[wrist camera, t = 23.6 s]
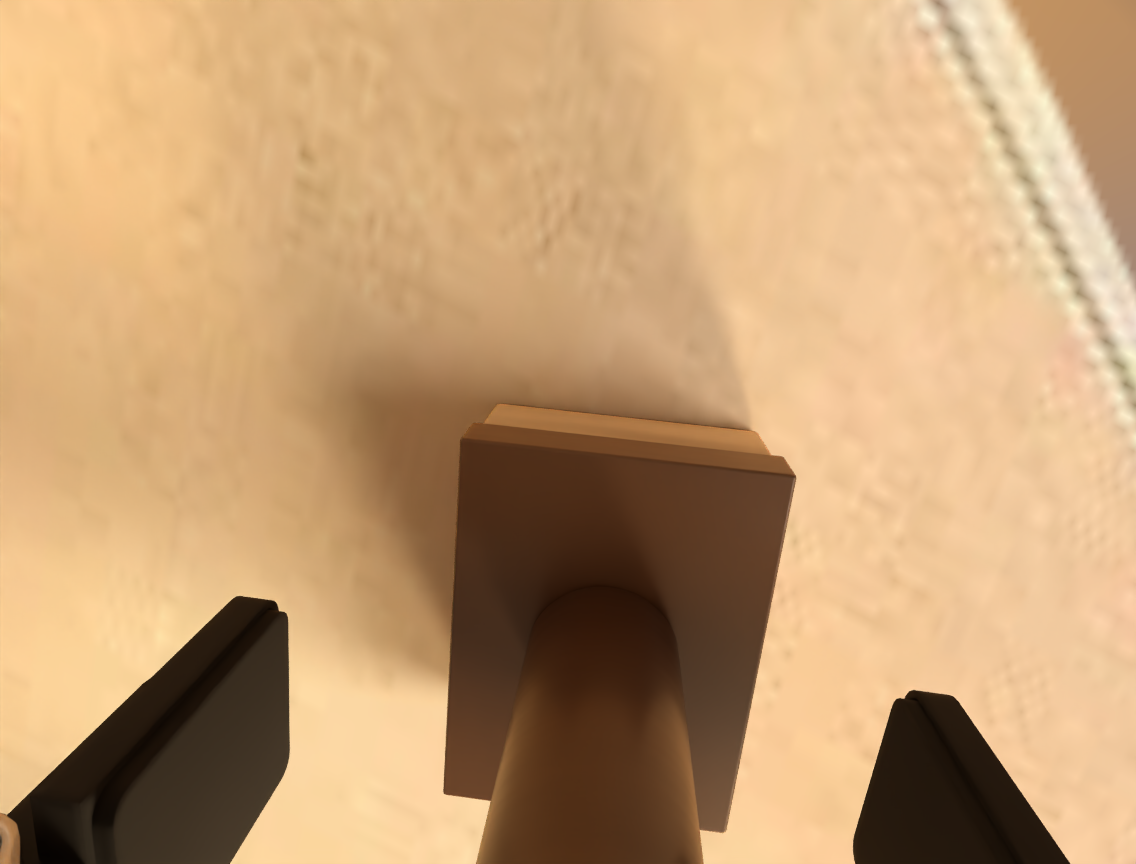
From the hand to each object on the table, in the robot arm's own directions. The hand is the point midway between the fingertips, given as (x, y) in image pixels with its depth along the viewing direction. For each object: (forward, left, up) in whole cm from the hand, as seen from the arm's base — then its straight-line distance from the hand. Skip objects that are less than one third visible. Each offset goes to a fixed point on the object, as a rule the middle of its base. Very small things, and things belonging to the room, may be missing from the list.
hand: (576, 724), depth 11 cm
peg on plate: (0, 0, -5) cm, 5 cm away
